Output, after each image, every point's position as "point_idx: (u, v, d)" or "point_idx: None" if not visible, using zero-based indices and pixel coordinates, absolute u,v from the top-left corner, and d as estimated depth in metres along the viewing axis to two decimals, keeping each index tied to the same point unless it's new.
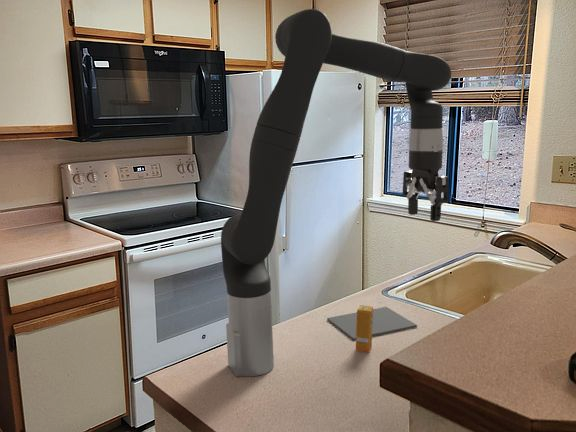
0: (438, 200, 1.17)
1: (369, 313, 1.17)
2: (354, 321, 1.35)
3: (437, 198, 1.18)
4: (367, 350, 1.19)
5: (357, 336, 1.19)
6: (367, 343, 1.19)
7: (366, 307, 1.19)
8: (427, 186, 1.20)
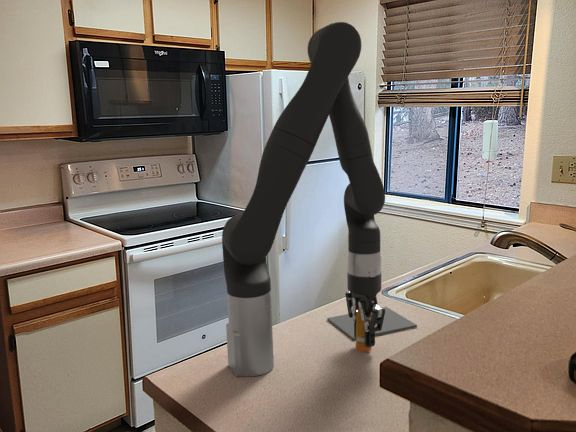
0: (370, 329, 1.15)
1: None
2: None
3: (370, 327, 1.15)
4: (367, 350, 1.19)
5: (357, 336, 1.19)
6: None
7: None
8: (364, 312, 1.16)
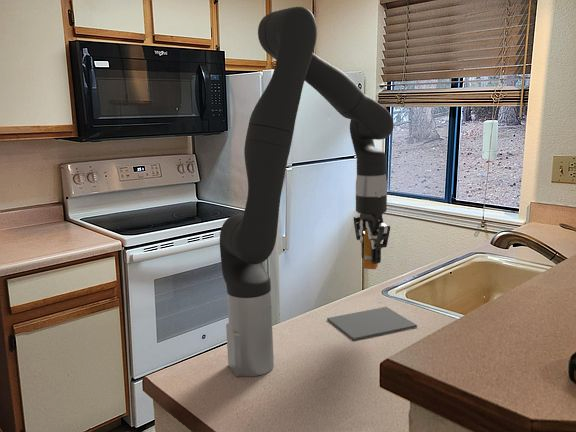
0: (377, 245, 1.26)
1: None
2: (354, 321, 1.35)
3: (376, 243, 1.26)
4: (374, 267, 1.30)
5: (365, 254, 1.30)
6: None
7: None
8: (371, 230, 1.28)
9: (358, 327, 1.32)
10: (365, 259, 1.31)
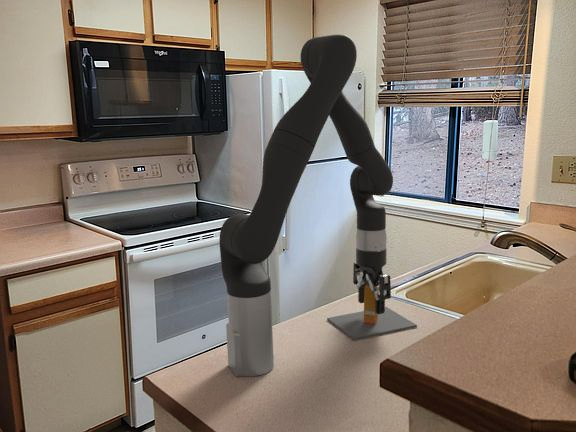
0: (381, 297, 1.27)
1: None
2: (354, 321, 1.35)
3: (380, 295, 1.27)
4: (374, 322, 1.33)
5: (365, 309, 1.33)
6: (374, 316, 1.33)
7: None
8: (372, 282, 1.30)
9: (358, 327, 1.32)
10: (365, 314, 1.33)
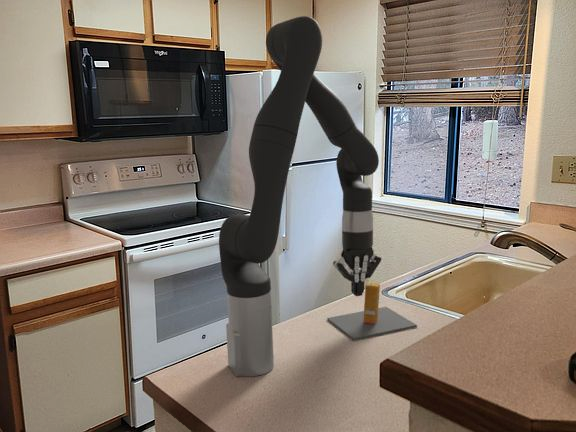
0: None
1: (376, 288, 1.32)
2: (354, 321, 1.35)
3: None
4: (374, 322, 1.33)
5: (365, 309, 1.33)
6: (374, 316, 1.33)
7: (374, 283, 1.33)
8: None
9: (358, 327, 1.32)
10: (365, 314, 1.33)
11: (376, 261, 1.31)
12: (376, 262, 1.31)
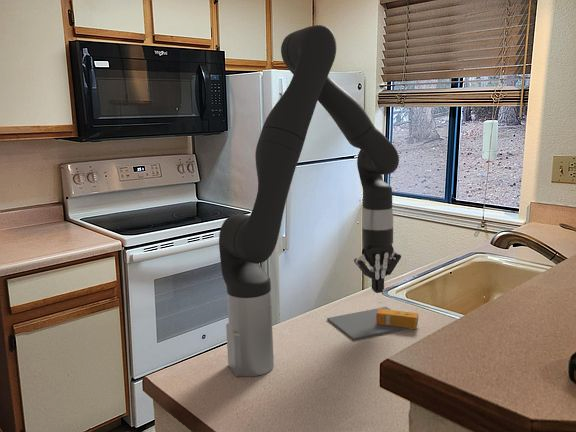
0: None
1: (414, 327, 1.30)
2: (354, 321, 1.35)
3: None
4: (378, 323, 1.33)
5: (390, 315, 1.31)
6: (384, 323, 1.32)
7: (417, 321, 1.31)
8: None
9: (358, 327, 1.32)
10: (385, 315, 1.32)
11: (396, 258, 1.33)
12: (396, 259, 1.34)
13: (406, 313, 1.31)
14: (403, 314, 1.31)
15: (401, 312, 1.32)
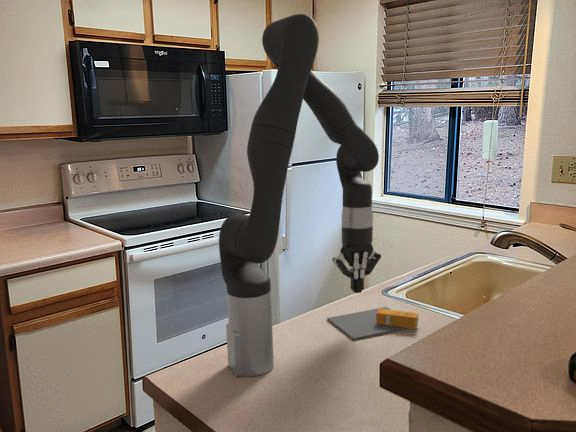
0: None
1: (414, 327, 1.30)
2: (354, 321, 1.35)
3: None
4: (378, 323, 1.33)
5: (390, 315, 1.31)
6: (384, 323, 1.32)
7: (417, 321, 1.31)
8: None
9: (358, 327, 1.32)
10: (385, 316, 1.32)
11: (376, 258, 1.31)
12: (376, 259, 1.31)
13: (406, 313, 1.31)
14: (403, 314, 1.31)
15: (401, 312, 1.32)
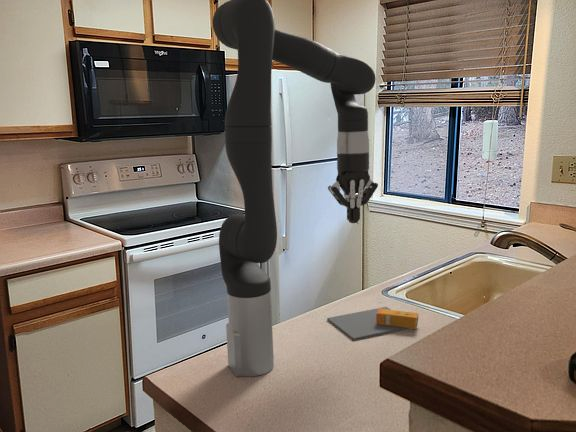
0: None
1: (414, 327, 1.30)
2: (354, 321, 1.35)
3: None
4: (378, 323, 1.33)
5: (390, 315, 1.31)
6: (384, 323, 1.32)
7: (417, 321, 1.31)
8: None
9: (358, 327, 1.32)
10: (385, 316, 1.32)
11: (372, 187, 1.27)
12: (372, 188, 1.27)
13: (406, 313, 1.31)
14: (403, 314, 1.31)
15: (401, 312, 1.32)
